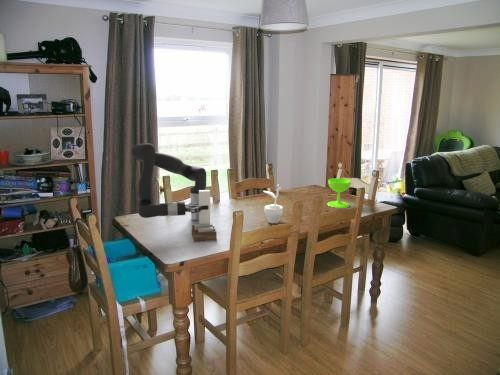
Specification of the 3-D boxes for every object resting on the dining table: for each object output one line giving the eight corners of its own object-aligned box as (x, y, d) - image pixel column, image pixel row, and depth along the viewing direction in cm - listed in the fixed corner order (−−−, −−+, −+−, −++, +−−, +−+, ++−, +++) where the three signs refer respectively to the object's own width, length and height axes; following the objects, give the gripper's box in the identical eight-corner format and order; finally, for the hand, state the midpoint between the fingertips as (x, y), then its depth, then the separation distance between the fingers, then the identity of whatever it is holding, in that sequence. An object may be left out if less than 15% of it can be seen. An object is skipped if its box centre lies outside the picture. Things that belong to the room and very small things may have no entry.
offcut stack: (194, 233, 214) (194, 224, 213) (212, 232, 217) (212, 223, 216) (195, 237, 208) (195, 228, 207) (214, 236, 211) (214, 227, 209)
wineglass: (322, 203, 281) (323, 179, 277) (340, 201, 288) (341, 177, 284) (335, 209, 267) (337, 184, 263) (354, 206, 274) (356, 182, 270)
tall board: (199, 228, 219) (198, 190, 214) (209, 227, 220) (209, 189, 215) (199, 229, 217) (199, 191, 211) (210, 228, 218) (210, 191, 213)
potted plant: (285, 220, 243) (286, 181, 238) (279, 226, 233) (280, 185, 227) (266, 218, 248) (266, 180, 242) (259, 223, 238) (260, 183, 232)
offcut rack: (191, 233, 220) (191, 225, 219) (212, 231, 223) (212, 223, 222) (194, 242, 207) (194, 233, 206) (216, 240, 210) (216, 231, 209)
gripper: (176, 205, 205) (209, 203, 208) (175, 198, 218) (206, 197, 222) (177, 219, 206) (209, 216, 210) (175, 211, 219) (206, 209, 223)
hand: (207, 206), depth 216 cm, fingers closed on tall board, 2 cm apart
